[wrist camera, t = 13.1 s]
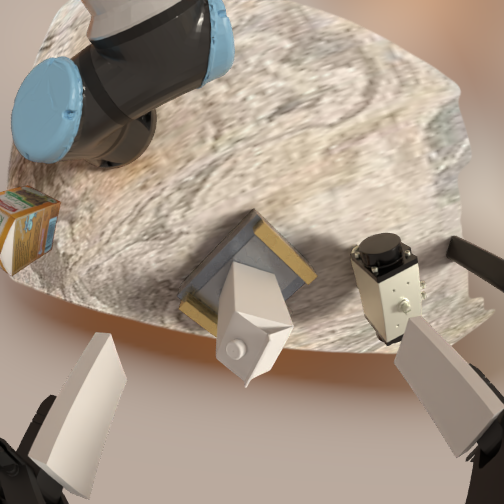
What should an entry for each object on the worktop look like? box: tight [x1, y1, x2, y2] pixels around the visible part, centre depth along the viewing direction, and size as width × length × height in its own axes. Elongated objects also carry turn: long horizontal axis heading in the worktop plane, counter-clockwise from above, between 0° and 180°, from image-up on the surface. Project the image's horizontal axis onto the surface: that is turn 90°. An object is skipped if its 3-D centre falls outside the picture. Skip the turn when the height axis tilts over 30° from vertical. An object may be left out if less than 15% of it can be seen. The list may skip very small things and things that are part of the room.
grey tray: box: [177, 209, 317, 337], centre depth 46 cm, size 18×19×8 cm
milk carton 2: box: [216, 261, 294, 388], centre depth 35 cm, size 7×7×19 cm
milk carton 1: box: [0, 185, 61, 276], centre depth 33 cm, size 11×10×19 cm
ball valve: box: [350, 233, 427, 346], centre depth 42 cm, size 18×8×18 cm, turn 22°
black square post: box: [446, 236, 504, 293], centre depth 37 cm, size 6×6×30 cm
